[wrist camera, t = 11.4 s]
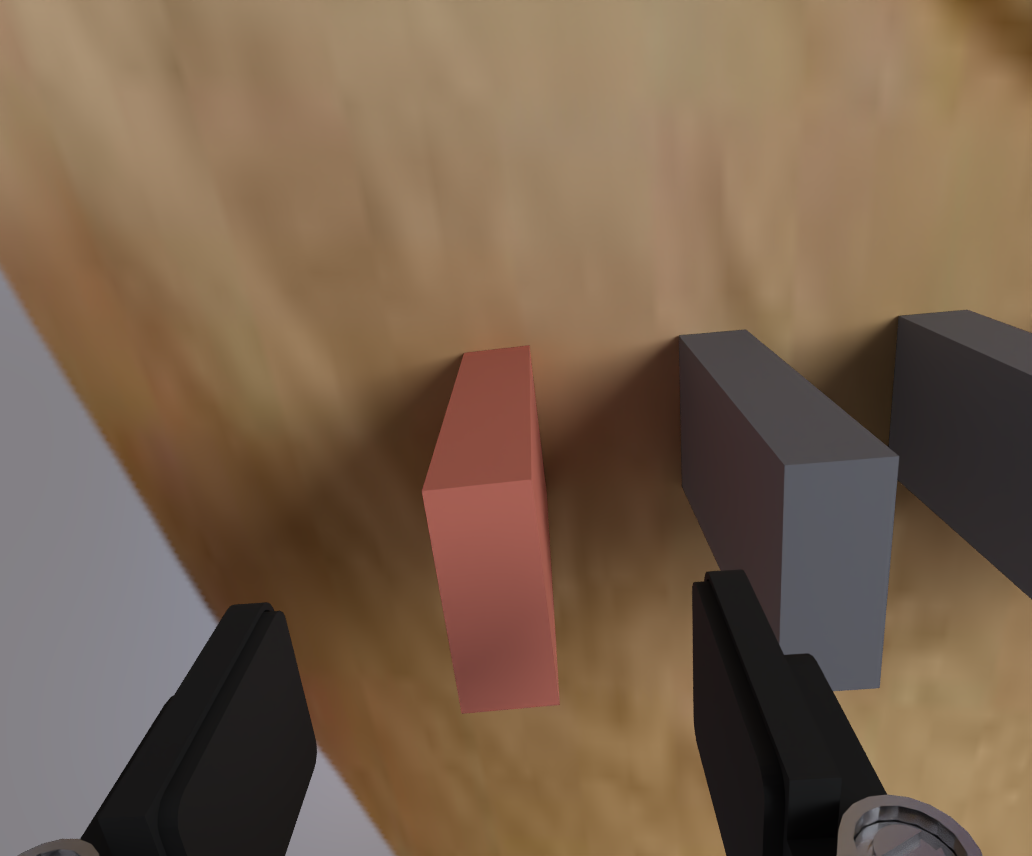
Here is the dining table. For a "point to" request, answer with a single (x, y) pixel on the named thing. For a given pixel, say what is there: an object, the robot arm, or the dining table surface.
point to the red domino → (494, 536)
